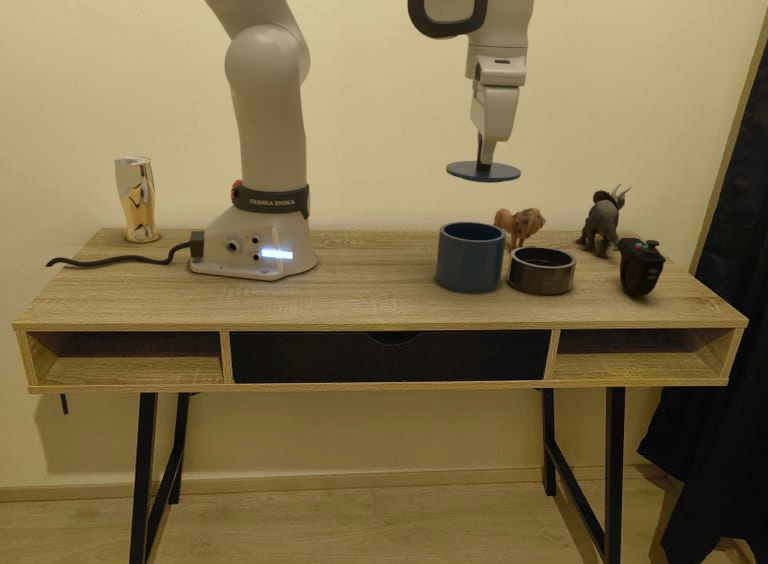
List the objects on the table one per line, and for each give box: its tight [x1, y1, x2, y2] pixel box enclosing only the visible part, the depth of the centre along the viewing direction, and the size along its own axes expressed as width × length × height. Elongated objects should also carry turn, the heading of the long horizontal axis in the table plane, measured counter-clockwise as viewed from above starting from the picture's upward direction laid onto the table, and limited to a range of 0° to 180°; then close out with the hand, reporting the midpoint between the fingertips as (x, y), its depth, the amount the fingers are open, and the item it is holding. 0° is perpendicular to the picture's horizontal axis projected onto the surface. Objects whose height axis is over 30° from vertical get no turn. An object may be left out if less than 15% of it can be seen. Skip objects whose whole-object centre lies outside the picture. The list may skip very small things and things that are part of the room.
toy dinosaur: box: [575, 183, 632, 259], centre depth 133 cm, size 22×8×11 cm, turn 160°
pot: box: [435, 221, 507, 294], centre depth 116 cm, size 11×11×9 cm
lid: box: [445, 139, 522, 184], centre depth 108 cm, size 12×12×6 cm
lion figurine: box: [492, 207, 547, 253], centre depth 134 cm, size 15×5×9 cm, turn 34°
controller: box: [617, 237, 667, 297], centre depth 114 cm, size 4×12×10 cm, turn 2°
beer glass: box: [113, 156, 160, 244], centre depth 130 cm, size 7×7×15 cm
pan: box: [506, 245, 578, 296], centre depth 117 cm, size 11×11×5 cm
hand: (484, 160), depth 109 cm, fingers closed on lid, 2 cm apart
